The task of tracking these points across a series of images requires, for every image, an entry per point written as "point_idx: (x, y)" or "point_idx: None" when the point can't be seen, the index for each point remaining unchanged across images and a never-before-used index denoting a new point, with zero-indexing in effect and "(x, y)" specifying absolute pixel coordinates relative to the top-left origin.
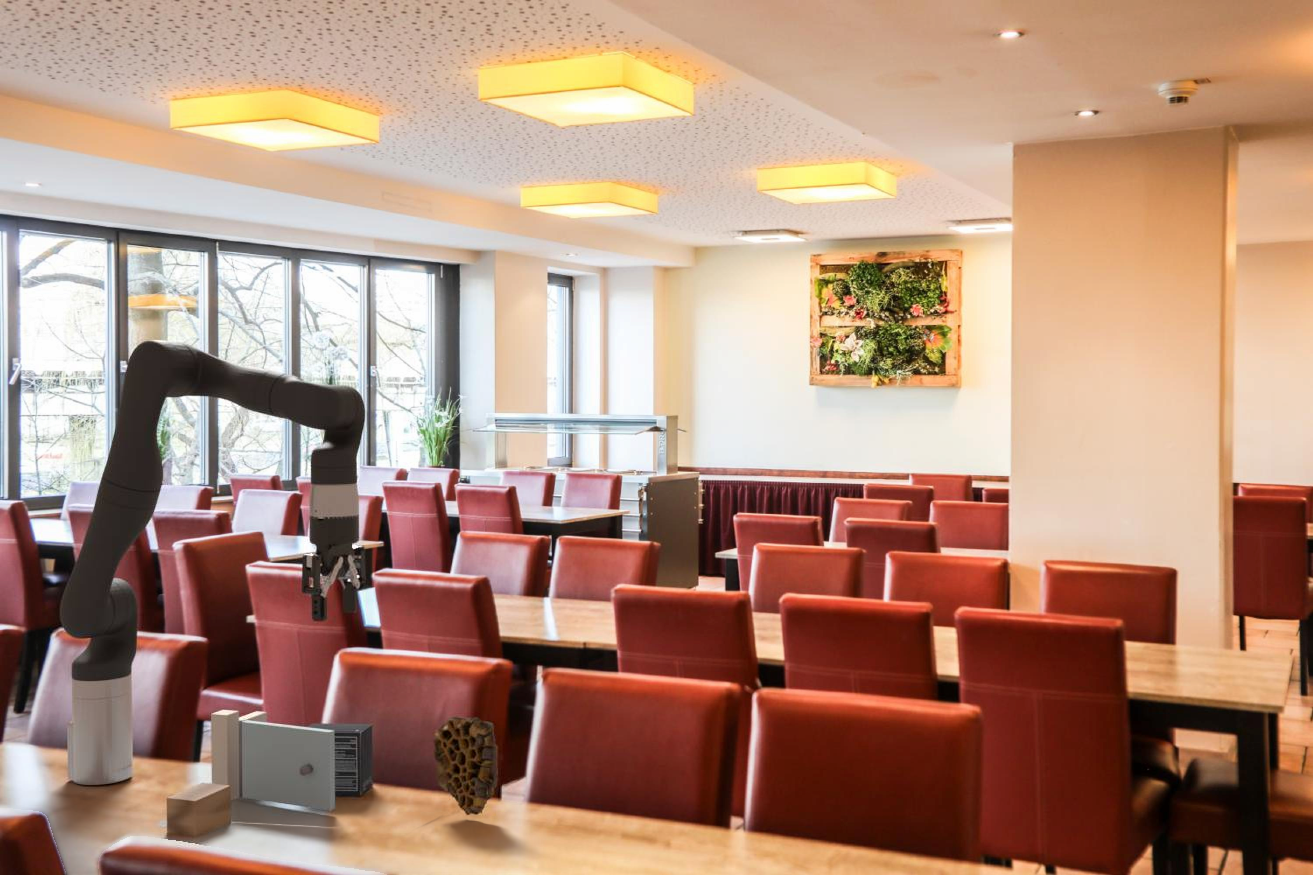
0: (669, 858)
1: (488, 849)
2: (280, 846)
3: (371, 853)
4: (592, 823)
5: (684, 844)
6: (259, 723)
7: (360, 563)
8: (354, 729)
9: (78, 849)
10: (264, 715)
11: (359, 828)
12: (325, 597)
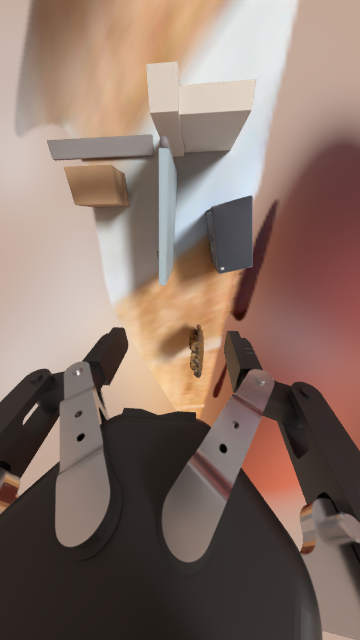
0: (172, 395)
1: (157, 352)
2: (115, 269)
3: (131, 315)
4: None
5: (186, 396)
6: (160, 184)
7: (303, 489)
8: (226, 264)
9: (22, 109)
10: (245, 112)
11: (158, 293)
12: (103, 384)
